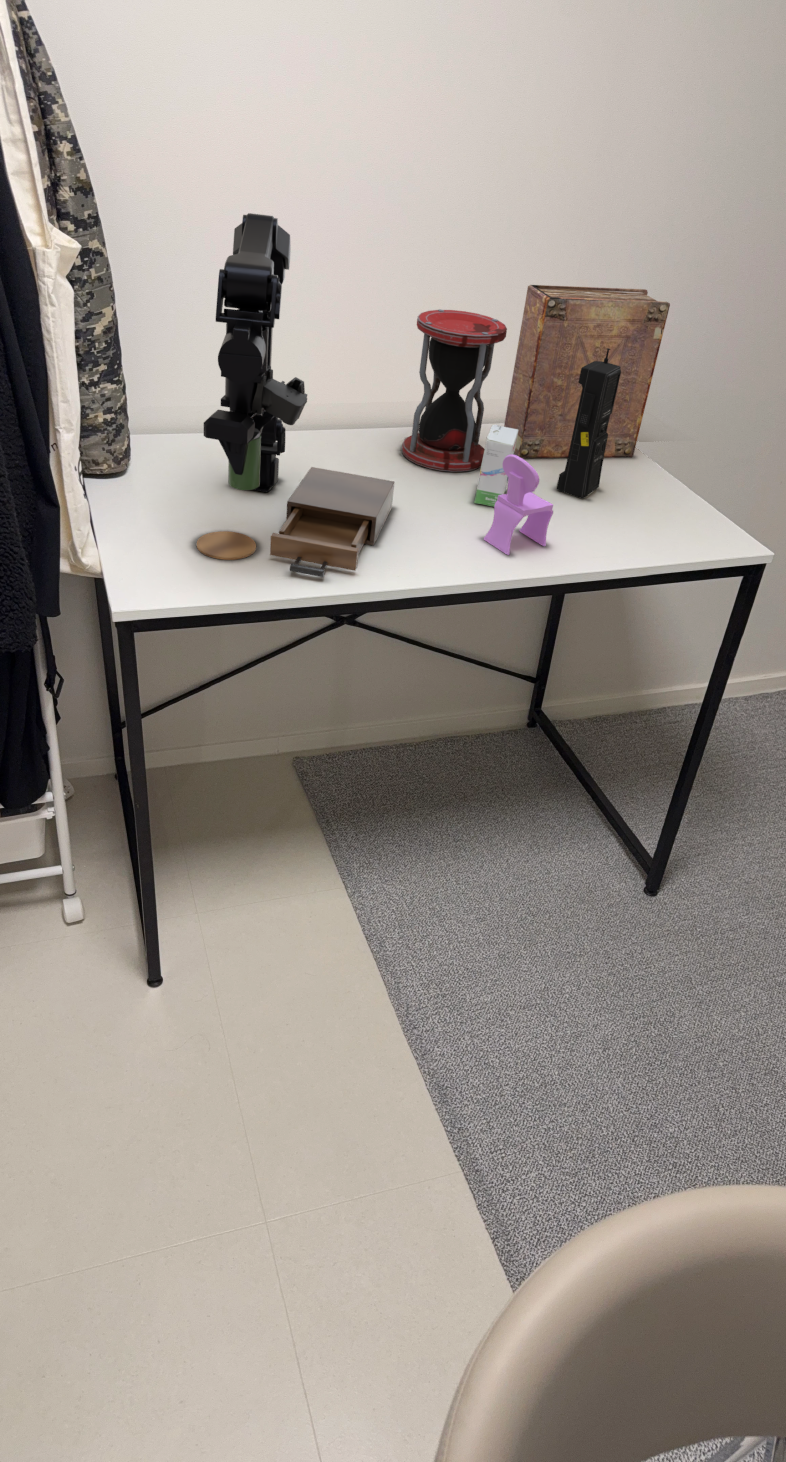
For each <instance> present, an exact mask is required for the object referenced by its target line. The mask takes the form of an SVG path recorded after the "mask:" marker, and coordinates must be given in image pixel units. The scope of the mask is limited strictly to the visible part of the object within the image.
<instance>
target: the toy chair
mask: <svg viewBox="0 0 786 1462" xmlns="http://www.w3.org/2000/svg"><path fill="white" fill-rule="evenodd" d="M503 470H504V472H505V473H506V475H507V476H508V484H507V489H506V493H505V494H502V495H498V498H497V501H496V503H495V506H494V507H493V520H492V524H491V526H490V528H489V529H488V531H487V533H486V534H485V536H484V537H483V541H485V542H486V543H488V544H489V545H491V546H493V547H494V548H496V549H497V550H499V551H501V552H502V553H504V554H505V555H506V556H509V555H510V552H511V541H512V536H513V533H514V531H515V529H516V528H517V526H518V525H520V522H521V521H522V520H523V519H524V518H525V517H526V516H527V518H526V519H525V522H524V523H523V525H522V526H521V528H519V532H520V533H521V534H523V535H524V536H526V537H528V538H529V539H530V540H531V539H532V541H534V542H536V543H537V544H539V545H541V546H542V547H546V545H547V535H548V534H547V533H548V528H549V524H550V522H551V519H552V517H553V515H554V510H553V508H554V504H553V503H551V502H549V501H547V500H545V499H544V498H542V497H540V496H538V495H537V494H535V493H533V492H535V491H536V489H537V488H538V487H539V484H540V477H539V474H538V472H537V470H536V469H535V468H534V466H532V465H531V464H530V463H529V462H528V461H526V460H525V458H520V457H518V456H517V455H516V454H514V455H513V454H511V455H507V456H506V457H505V458H504V460H503Z"/></svg>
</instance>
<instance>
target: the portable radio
mask: <svg viewBox="0 0 786 1462" xmlns="http://www.w3.org/2000/svg"><path fill="white" fill-rule="evenodd" d="M609 350H610V349H609V348H607V354H606V358H604V362H602V361H594V362H592V363H590V364H588V365H586V366H584V367H582V368H581V372H580V377H579V382H578V383H580V384H581V385H582V392H581V397H580V402H579V406H578V411H577V416H576V421H575V425H574V430H573V435H572V440H571V444H570V449H569V454H568V458H566V462H565V463H566V464H565V468H564V471H562V472H561V473H559V475H558V478H557V479H558V480H557V483H556V490H557V491H559V492H562V493H564V494H567V495H570V496H573V497H576V498H579V499H581V500H582V499H583V500H584V499H585V498H586V497H587V496H589V495H590V494H592V493H593V492H595V491H596V490H597V489H599V488H600V483H601V476H602V470H603V464H604V459H605V458H604V454H605V449H606V444H607V439H608V433H607V428H608V423H609V418H610V415H611V414H612V411H613V406H614V402H615V397H616V393H617V388H618V384H619V379H620V375H621V369H620V366H618V365H614V364H610V363H608V353H609Z"/></svg>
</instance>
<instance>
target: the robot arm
mask: <svg viewBox="0 0 786 1462" xmlns="http://www.w3.org/2000/svg"><path fill="white" fill-rule="evenodd" d="M278 221H279V218H277V217H274V216H273V215H269V214H259V213H253V212H252V213H250V212H248V213H247V214H243V215H242V221H241V223H240V224H239V225H237V226H236V227H235V228H234V229H233V230H234V231H233V243H232V254H231V255H228V257H227V258H226V259H225V262H224V267H223V268H220V269H219V271H218V281H217V294H216V306H215V307H216V308H215V322H216V323H223V324H225V335H224V338H223V341H222V342H221V346H220V348H219V351H218V354H217V363H218V364H217V365H218V367H219V370H220V377H221V378H224V379H225V381H224V383H225V384H224V395H223V396H221V398H220V407H225V408H229V410H225V409H224V410H223V409H217V410H215V412H213V413H212V414H211V415H209V417H208V418H206V419H205V420H204V422H203V437H204V438H205V439H209V440H210V439H211V440H217V441H218V442H219V444H220V446H221V448H222V450H223V451H224V453H225V456H226V458H227V460H229V462H230V464H231V467H232V469H233V471H234V473H235V474H237V475H242V474H243V470H244V466H245V460H246V455H247V449H248V444H249V442H250V441H252V440H253V439H254V438H255V437H256V436H257V435H258V434H259V432H254V431H255V428H256V429H258V430H259V431H260V434H261V457H260V485H259V487H257V488H256V489H252V490H251V491H257V492H262V493H270V491H271V489H273V487H274V486H275V485H276V484H277V483H278V481H279V469H280V467H279V466H280V459H279V457H280V456H281V454H282V453H285V452H286V428H285V427H284V424H285V425H288V426H294V425H295V424H296V422H297V421H298V420H299V419H300V417H301V415H302V412H303V411H304V408H305V406H306V404H307V403H308V393H306V391H305V390H306V389H305V388H306V387H305V381H304V380H302V379H300V378H298V377H296V376H295V377H293V378H292V379H291V380H289V381H288V382H287V383H286V381H284V380H282V381H278V380H277V379H274V370H273V368H272V355H273V353H272V352H273V329H274V328H275V324H276V320H280V317H281V304H282V302H281V301H282V291H283V283H284V281H285V278H286V270H288V271H290V267H291V266H290V265H291V248H292V247H291V246H292V245H291V234H290V233H289V232H288V231H286V230H285V229H284V228H283V227H281V226H280V225H279V222H278ZM223 306H224V307H225V308H223ZM283 423H284V424H283ZM277 456H279V457H277Z"/></svg>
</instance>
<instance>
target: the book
mask: <svg viewBox="0 0 786 1462" xmlns="http://www.w3.org/2000/svg"><path fill="white" fill-rule="evenodd" d="M670 307H671V303H670V302H669V301H658V300H656V298H653V297H651V296H649V295H648V289H645V288H623V287H622V288H621V287H598V286H595V287H594V286H572V285H571V286H568V285H545V284H529V285H527V290H526V296H525V301H524V307H523V313H522V319H521V324H520V330H519V335H518V342H517V348H516V354H515V359H514V366H513V372H512V378H511V384H510V388H509V389H510V390H509V395H508V401H507V405H506V413H505V419H504V425H503V427H508V428H513V429H518V430H519V431H518V436H517V441H516V446H515V451H514V455H517V456H518V457H520V458H522V459H568V454H569V449H570V444H571V440H572V435H573V430H574V425H575V421H576V416H577V411H578V406H579V402H580V397H581V392H582V385H581V384H580V383H578V382H579V377H580V372H581V368H582V367H584V366H586V365H588V364H590V363H592V362H594V361H602V362H604V358H606V354H607V348H609V349H610V350H609V353H608V363H610V364H614V365H618V366H620V369H621V375H620V379H619V384H618V388H617V393H616V397H615V402H614V406H613V411H612V414H611V415H610V418H609V423H608V428H607V433H608V439H607V444H606V449H605V454H604V459H605V458H607V459H609V458H610V459H611V458H614V459H615V458H616V459H617V458H633V457H634V454H635V452H636V451H635V450H636V447H637V441H638V438H639V434H640V429H641V426H642V421H643V418H644V413H645V410H646V405H647V401H648V397H649V392H650V389H651V384H652V381H653V378H654V377H653V376H654V372H655V369H656V364H657V361H658V357H659V352H660V348H661V344H662V339H663V335H664V331H665V328H666V324H667V319H668V315H669V311H670Z"/></svg>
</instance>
